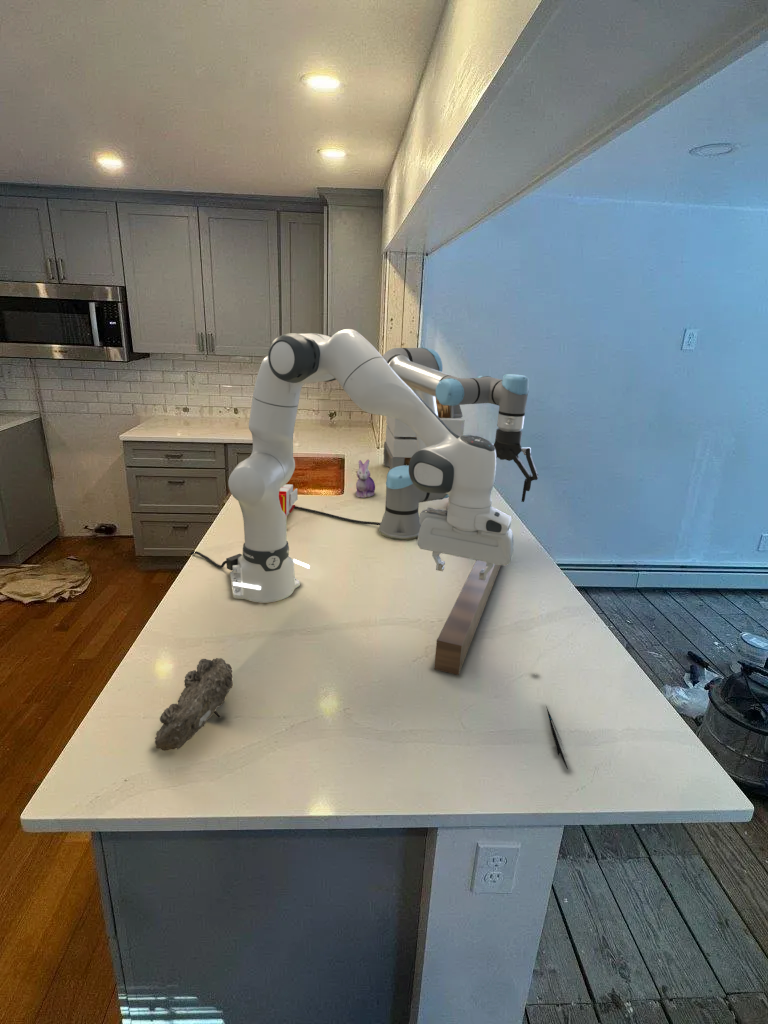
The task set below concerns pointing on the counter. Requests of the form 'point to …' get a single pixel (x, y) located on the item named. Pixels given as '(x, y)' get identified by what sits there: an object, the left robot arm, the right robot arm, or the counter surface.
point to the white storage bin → (404, 438)
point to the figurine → (364, 481)
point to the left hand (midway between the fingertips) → (461, 574)
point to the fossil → (195, 703)
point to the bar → (464, 619)
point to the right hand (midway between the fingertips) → (500, 497)
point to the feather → (556, 737)
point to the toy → (287, 498)
